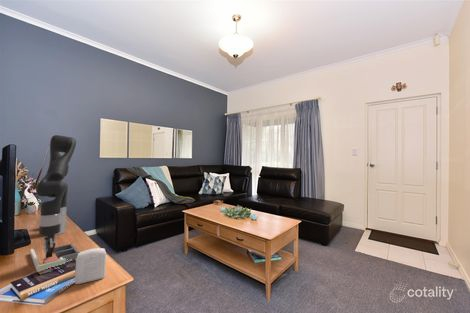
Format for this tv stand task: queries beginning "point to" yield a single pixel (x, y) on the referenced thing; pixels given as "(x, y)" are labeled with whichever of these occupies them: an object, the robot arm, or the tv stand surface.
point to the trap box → (61, 252)
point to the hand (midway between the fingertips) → (48, 260)
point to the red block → (50, 259)
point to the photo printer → (90, 265)
